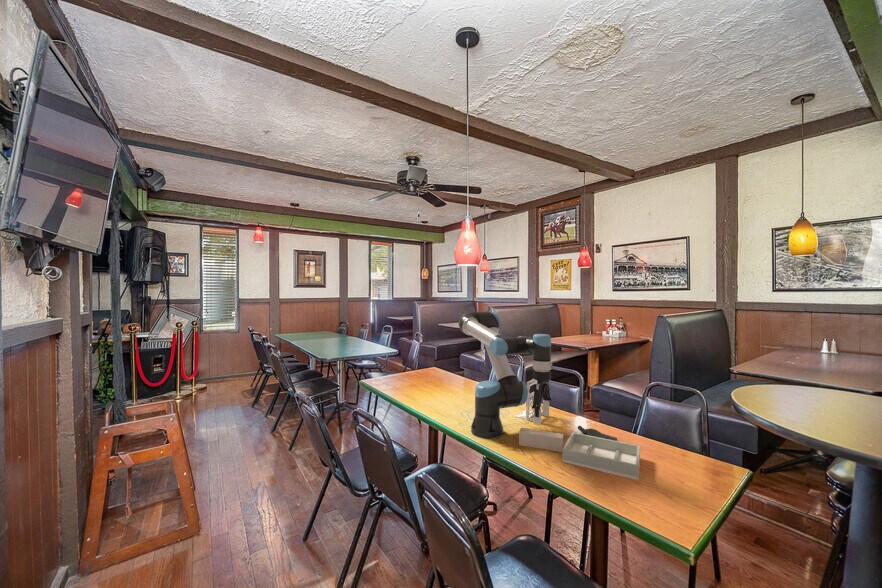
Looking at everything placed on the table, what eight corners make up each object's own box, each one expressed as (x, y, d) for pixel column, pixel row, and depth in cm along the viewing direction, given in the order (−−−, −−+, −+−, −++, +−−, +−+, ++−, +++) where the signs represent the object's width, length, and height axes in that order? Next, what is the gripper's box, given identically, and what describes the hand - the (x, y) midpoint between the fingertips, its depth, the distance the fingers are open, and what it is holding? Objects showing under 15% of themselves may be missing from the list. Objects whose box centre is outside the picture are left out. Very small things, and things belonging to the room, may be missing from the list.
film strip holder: (523, 410, 200) (523, 374, 200) (547, 415, 191) (548, 378, 192) (512, 417, 188) (513, 379, 188) (538, 422, 180) (538, 383, 180)
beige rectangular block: (518, 445, 153) (519, 431, 153) (520, 440, 158) (521, 427, 158) (562, 452, 146) (562, 438, 146) (563, 448, 151) (563, 434, 151)
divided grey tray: (562, 461, 138) (562, 448, 138) (572, 443, 155) (572, 432, 155) (638, 480, 124) (638, 466, 124) (640, 458, 142) (640, 445, 142)
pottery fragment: (619, 442, 158) (620, 432, 158) (604, 447, 151) (604, 437, 151) (590, 431, 170) (590, 422, 170) (574, 435, 164) (574, 426, 164)
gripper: (543, 376, 139) (543, 430, 139) (557, 366, 161) (557, 413, 160) (524, 374, 143) (524, 426, 143) (540, 364, 165) (540, 410, 164)
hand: (541, 419), depth 152 cm, fingers open, 13 cm apart
